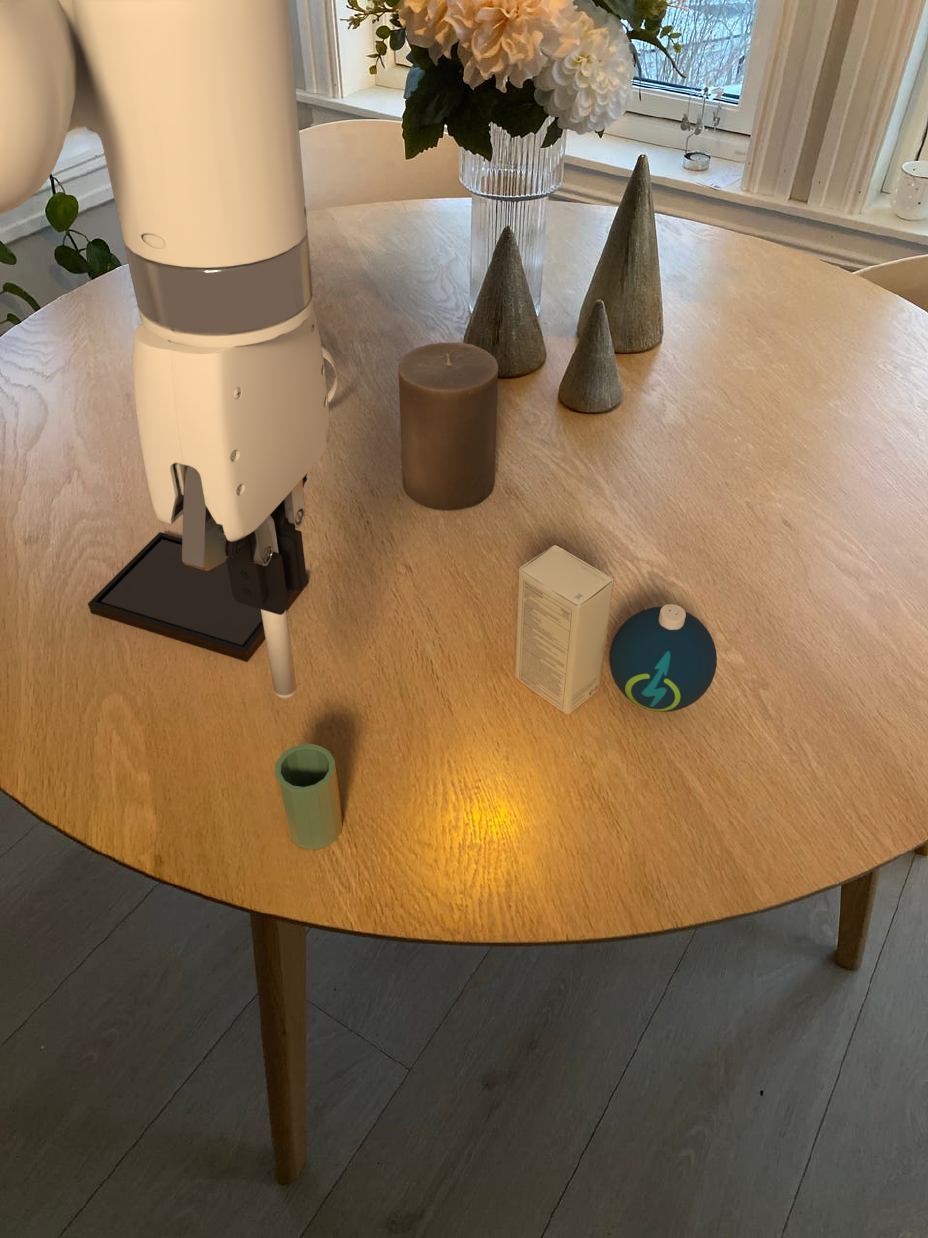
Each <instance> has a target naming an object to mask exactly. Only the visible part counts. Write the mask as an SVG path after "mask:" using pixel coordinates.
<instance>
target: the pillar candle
mask: <svg viewBox="0 0 928 1238" xmlns="http://www.w3.org/2000/svg"><path fill="white" fill-rule="evenodd" d="M397 369H398V370H397V371H398V397H399V399H398V401H399V421H400V422H399V432H400V461H401V462H400V463H401V466H400V467H401V475H402V476H401V478H402V487H403V490H404V491H405V493H406V495H407V496H408V497H409V498H410V499H412V500H413V501H415V503H418V504H420V505H421V506H423V507H426V508H428V509H433V510H436V511H437V510H439V511H443V512H444V511H459V510H462V509H463V510H464V509H467V508H472V507H475V506H477V505H479V504H482V503H483V501H485V500H486V499H488V498H489V497H490V495H491V494H492V492H493V491H494V488H495V475H496V471H495V470H496V452H497V451H496V448H497V421H498V419H497V418H498V417H497V416H498V391H499V389H498V388H499V385H498V384H499V364H498V361H497V359H496V358H495V357H494V356H493V354H491V353H490V352H489V351H487V350H485V349H483V348H481V347H478V346H476V345H474V344H472V343H465V342H459V341H458V342H456V341H455V342H454V341H453V342H437V343H435V342H434V343H433V342H432V343H429V344H425V345H422V346H418V347H416V348H413V349H412V350H410V351H408V352H407V353H405V354H403V355H401V356H400V357H399V362H398V367H397Z"/></svg>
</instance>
